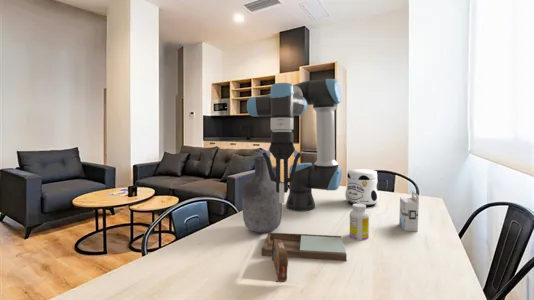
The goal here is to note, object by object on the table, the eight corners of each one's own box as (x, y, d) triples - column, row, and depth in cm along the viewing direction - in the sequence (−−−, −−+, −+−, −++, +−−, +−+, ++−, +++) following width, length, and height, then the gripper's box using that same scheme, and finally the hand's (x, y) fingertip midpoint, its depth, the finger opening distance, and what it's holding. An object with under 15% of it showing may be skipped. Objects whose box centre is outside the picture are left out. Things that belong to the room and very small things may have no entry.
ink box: (398, 223, 117) (399, 189, 116) (411, 224, 116) (412, 190, 115) (404, 231, 109) (405, 194, 108) (418, 231, 108) (419, 195, 107)
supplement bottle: (368, 236, 103) (368, 203, 102) (368, 243, 97) (369, 208, 96) (349, 234, 105) (350, 202, 104) (349, 241, 99) (349, 206, 98)
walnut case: (268, 240, 101) (268, 232, 100) (341, 244, 97) (341, 236, 96) (261, 258, 86) (261, 249, 86) (346, 264, 82) (346, 254, 82)
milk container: (345, 206, 144) (345, 173, 143) (345, 198, 160) (345, 168, 159) (380, 209, 139) (381, 174, 138) (377, 200, 155) (377, 169, 154)
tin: (271, 260, 85) (271, 234, 84) (281, 260, 85) (281, 234, 85) (277, 288, 70) (276, 256, 69) (289, 287, 70) (289, 256, 70)
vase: (287, 226, 115) (287, 155, 113) (272, 240, 100) (271, 159, 98) (254, 221, 121) (253, 154, 119) (235, 234, 107) (233, 158, 105)
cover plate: (301, 240, 97) (301, 235, 97) (341, 243, 95) (341, 237, 95) (299, 256, 86) (299, 249, 85) (345, 259, 83) (346, 252, 83)
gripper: (260, 131, 87) (260, 204, 88) (301, 131, 85) (301, 205, 86) (264, 131, 94) (264, 198, 96) (302, 131, 92) (302, 200, 94)
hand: (282, 202), depth 91 cm, fingers closed
